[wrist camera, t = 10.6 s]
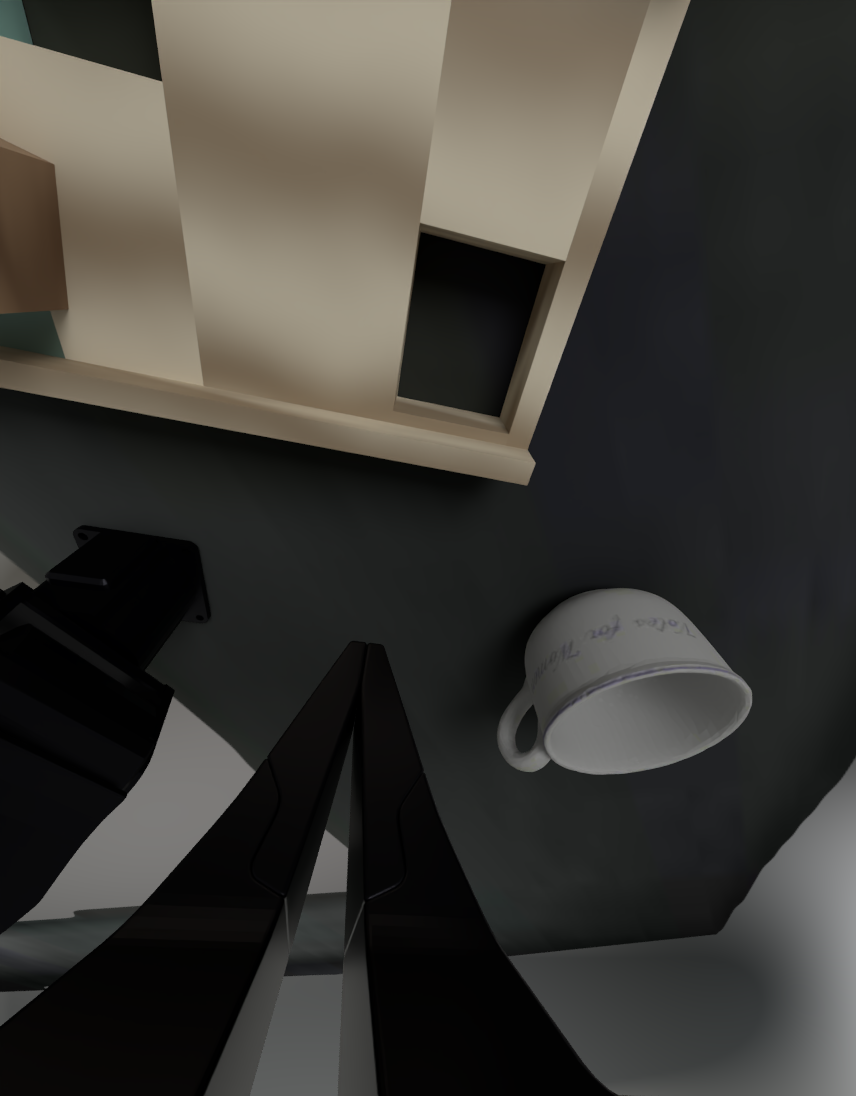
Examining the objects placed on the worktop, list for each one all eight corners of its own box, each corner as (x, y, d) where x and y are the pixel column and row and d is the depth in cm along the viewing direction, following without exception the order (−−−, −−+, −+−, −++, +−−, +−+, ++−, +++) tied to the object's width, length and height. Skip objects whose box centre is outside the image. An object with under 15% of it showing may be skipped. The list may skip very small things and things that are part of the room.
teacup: (658, 537, 22) (756, 643, 16) (682, 644, 28) (763, 756, 21) (448, 618, 26) (456, 730, 19) (506, 698, 31) (528, 807, 25)
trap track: (509, 450, 19) (529, 490, 15) (-73, 336, 16) (-222, 351, 12) (678, -54, 11) (814, -237, 7) (-487, -499, 8) (-1366, -1255, 4)
